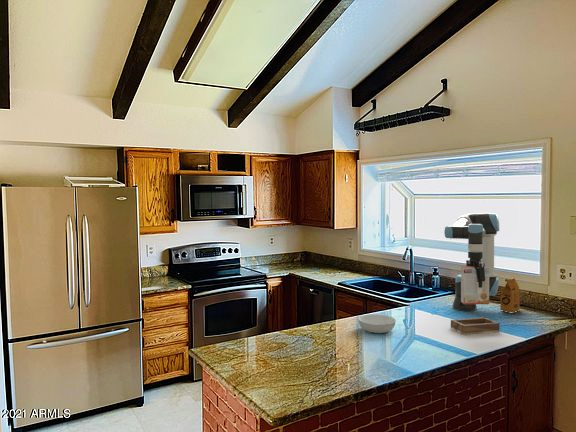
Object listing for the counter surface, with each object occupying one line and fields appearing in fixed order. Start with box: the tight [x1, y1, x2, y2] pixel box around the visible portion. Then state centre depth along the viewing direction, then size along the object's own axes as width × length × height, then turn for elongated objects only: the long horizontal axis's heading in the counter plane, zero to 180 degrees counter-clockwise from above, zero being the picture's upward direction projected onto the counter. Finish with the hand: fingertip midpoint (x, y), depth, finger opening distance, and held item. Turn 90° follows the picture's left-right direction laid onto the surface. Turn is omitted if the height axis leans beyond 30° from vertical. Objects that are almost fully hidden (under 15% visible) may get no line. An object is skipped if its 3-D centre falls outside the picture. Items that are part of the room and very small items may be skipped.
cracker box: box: [460, 265, 490, 305], centre depth 254 cm, size 14×6×21 cm, turn 85°
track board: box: [450, 317, 501, 336], centre depth 255 cm, size 13×22×5 cm, turn 102°
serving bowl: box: [357, 313, 397, 334], centre depth 255 cm, size 21×21×7 cm
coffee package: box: [499, 276, 521, 313], centre depth 296 cm, size 10×12×22 cm
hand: (474, 291), depth 254 cm, fingers closed on cracker box, 7 cm apart
